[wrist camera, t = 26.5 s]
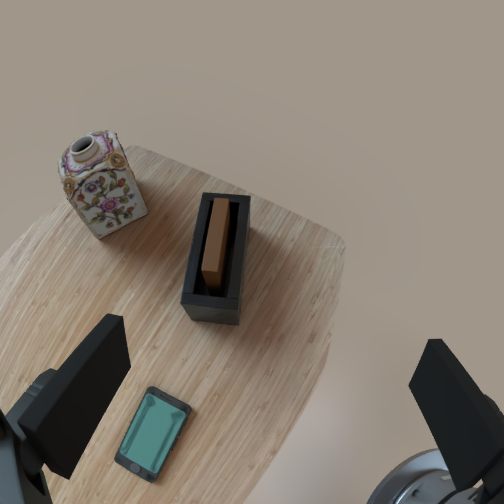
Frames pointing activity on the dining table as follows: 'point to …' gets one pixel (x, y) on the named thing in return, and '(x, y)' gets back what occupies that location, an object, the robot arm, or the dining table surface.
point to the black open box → (195, 287)
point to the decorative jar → (100, 183)
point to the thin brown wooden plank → (217, 248)
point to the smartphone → (152, 434)
